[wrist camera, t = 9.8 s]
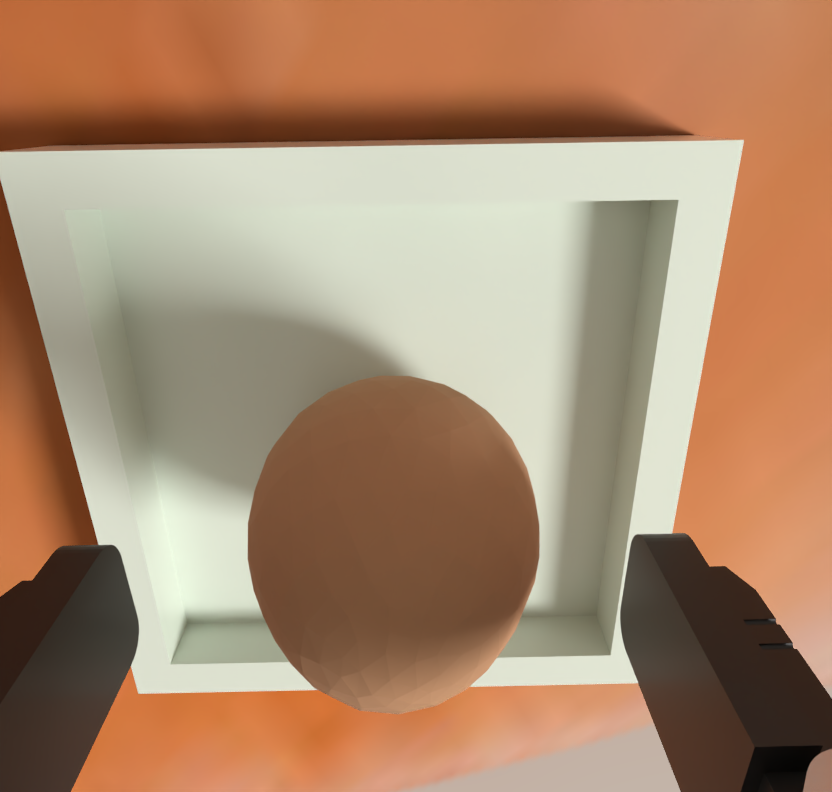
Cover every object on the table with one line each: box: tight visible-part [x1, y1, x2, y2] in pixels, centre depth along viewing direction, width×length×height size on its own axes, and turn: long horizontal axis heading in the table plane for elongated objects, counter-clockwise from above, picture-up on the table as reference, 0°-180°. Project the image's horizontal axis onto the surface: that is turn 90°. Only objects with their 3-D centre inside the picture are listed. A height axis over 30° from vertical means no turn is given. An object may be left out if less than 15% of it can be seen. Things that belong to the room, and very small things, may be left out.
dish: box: [0, 135, 744, 694], centre depth 15 cm, size 13×13×2 cm
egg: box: [248, 376, 540, 714], centre depth 12 cm, size 5×5×7 cm
